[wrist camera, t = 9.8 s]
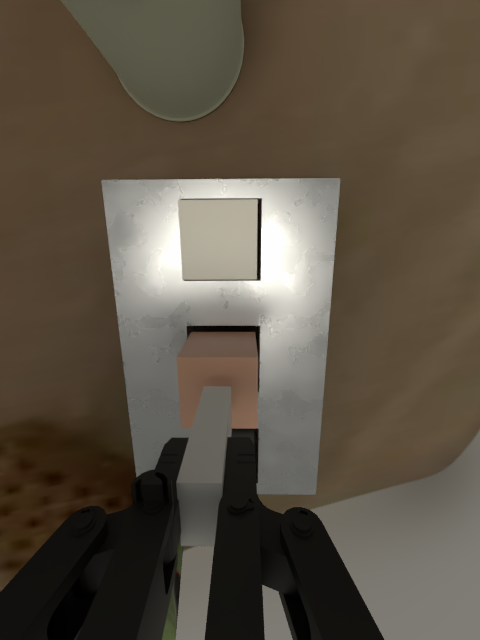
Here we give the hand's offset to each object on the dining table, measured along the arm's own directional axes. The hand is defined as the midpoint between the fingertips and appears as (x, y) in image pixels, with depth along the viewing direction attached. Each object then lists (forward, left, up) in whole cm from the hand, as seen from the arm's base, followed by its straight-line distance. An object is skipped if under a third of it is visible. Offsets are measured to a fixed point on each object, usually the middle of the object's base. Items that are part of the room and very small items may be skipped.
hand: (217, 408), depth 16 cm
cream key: (0, +9, -10) cm, 13 cm away
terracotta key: (0, 0, -7) cm, 7 cm away
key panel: (0, 0, -10) cm, 10 cm away
